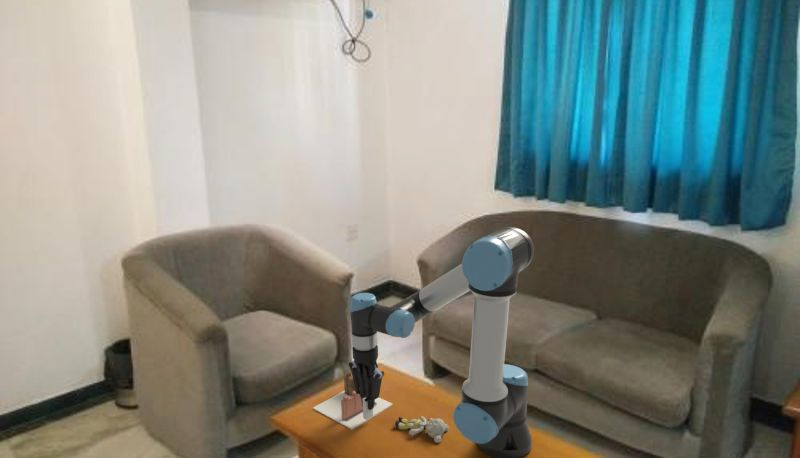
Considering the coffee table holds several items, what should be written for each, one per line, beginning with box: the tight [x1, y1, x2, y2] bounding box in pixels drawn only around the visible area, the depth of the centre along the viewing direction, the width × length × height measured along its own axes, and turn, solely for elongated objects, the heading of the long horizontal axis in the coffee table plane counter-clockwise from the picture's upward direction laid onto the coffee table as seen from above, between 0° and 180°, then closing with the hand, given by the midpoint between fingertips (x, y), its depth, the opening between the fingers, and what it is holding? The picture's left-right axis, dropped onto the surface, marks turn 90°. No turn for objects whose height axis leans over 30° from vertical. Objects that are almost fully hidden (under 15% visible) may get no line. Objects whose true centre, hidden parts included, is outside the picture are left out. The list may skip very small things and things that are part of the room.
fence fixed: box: [343, 372, 375, 405], centre depth 191 cm, size 13×2×8 cm, turn 48°
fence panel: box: [341, 391, 363, 420], centre depth 182 cm, size 10×1×7 cm, turn 136°
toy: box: [394, 415, 450, 444], centre depth 174 cm, size 9×6×15 cm
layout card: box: [312, 390, 394, 430], centre depth 188 cm, size 18×18×1 cm
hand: (368, 417), depth 178 cm, fingers closed
